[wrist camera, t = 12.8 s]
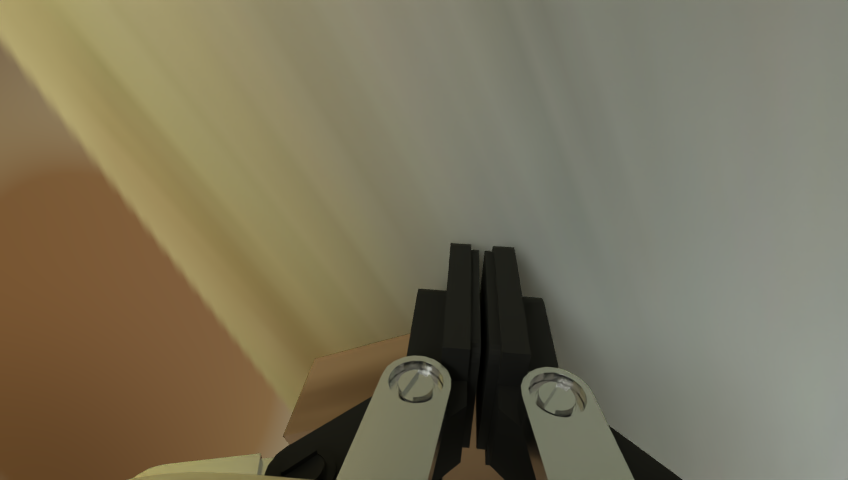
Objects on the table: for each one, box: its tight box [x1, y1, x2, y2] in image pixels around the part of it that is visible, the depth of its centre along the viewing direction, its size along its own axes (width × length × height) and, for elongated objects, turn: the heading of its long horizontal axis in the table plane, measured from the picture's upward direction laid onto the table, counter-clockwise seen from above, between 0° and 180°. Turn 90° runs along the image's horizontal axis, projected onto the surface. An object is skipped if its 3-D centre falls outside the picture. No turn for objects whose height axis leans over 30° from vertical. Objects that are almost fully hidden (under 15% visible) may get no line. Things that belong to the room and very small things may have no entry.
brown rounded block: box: [283, 334, 503, 480], centre depth 16 cm, size 11×6×4 cm, turn 23°
